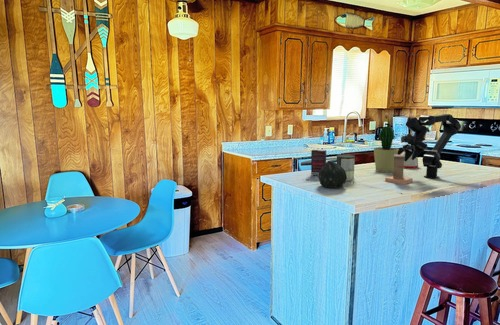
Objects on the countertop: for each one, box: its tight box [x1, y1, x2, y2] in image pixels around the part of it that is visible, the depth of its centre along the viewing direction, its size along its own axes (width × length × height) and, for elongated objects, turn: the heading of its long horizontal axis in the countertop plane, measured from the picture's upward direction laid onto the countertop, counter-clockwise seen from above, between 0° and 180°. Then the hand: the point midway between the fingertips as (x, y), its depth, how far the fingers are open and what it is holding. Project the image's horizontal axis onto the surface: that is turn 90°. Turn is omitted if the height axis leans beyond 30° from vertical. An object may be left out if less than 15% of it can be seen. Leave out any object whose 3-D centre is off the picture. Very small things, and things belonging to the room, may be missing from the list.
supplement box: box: [310, 149, 327, 177], centre depth 214 cm, size 9×5×16 cm, turn 65°
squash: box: [317, 160, 347, 189], centre depth 184 cm, size 14×15×15 cm
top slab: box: [384, 175, 413, 185], centre depth 190 cm, size 10×10×2 cm
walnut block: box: [392, 154, 405, 179], centre depth 189 cm, size 5×5×12 cm
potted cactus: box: [373, 125, 400, 173], centre depth 227 cm, size 15×15×30 cm
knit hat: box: [400, 151, 419, 170], centre depth 242 cm, size 14×14×15 cm
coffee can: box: [336, 154, 356, 182], centre depth 202 cm, size 10×10×14 cm
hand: (408, 160), depth 195 cm, fingers open, 9 cm apart
